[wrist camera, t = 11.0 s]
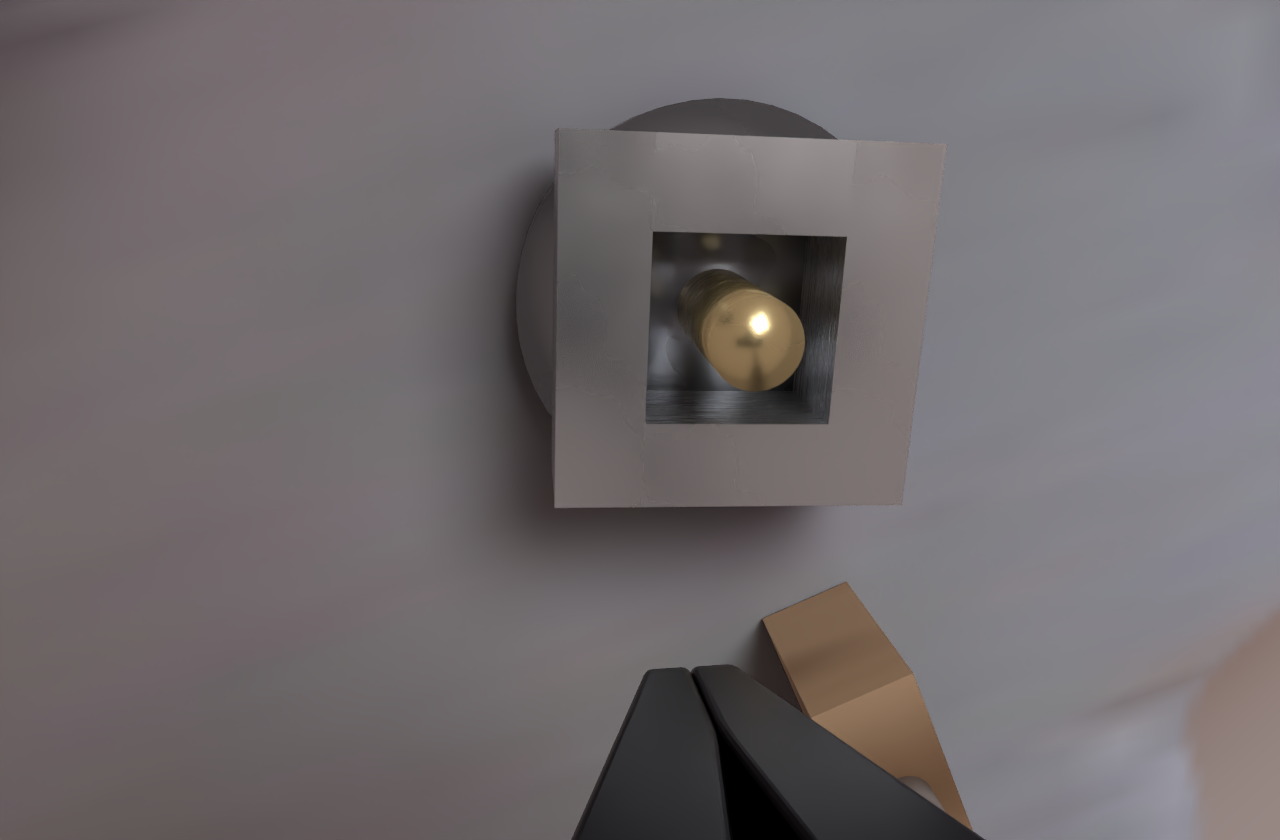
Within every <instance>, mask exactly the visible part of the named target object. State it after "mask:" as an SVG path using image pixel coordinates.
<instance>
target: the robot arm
mask: <svg viewBox="0 0 1280 840" xmlns="http://www.w3.org/2000/svg"><path fill="white" fill-rule="evenodd" d="M571 840H985V839H983V838H982V837H981V836H979V835H978V834H976V833H975V832H973V831H972V830H971V829H969V828H968V827H966V826H965V825H963V824H962V823H960V822H959V821H958V820H956V819H955V818H953V817H952V816H950V815H949V814H947V813H946V812H945V811H943V810H942V809H940V808H939V807H937V806H936V805H935V804H933V803H932V802H930V801H929V800H927V799H926V798H924V797H923V796H922V795H920V794H919V793H917V792H916V791H914V790H913V789H912V788H910V787H909V786H907V785H906V784H904V783H903V782H901V781H900V780H899V779H897V778H896V777H894V776H893V775H891V774H890V773H888V772H887V771H886V770H884V769H883V768H881V767H880V766H878V765H877V764H876V763H874V762H873V761H871V760H870V759H868V758H867V757H865V756H864V755H863V754H861V753H860V752H858V751H857V750H855V749H854V748H852V747H851V746H850V745H848V744H847V743H845V742H844V741H842V740H841V739H840V738H838V737H837V736H835V735H834V734H832V733H831V732H829V731H828V730H827V729H825V728H824V727H822V726H821V725H819V724H818V723H816V722H815V721H814V720H812V719H811V718H809V717H808V716H806V715H805V714H804V713H802V712H801V711H799V710H798V709H796V708H795V707H793V706H792V705H791V704H789V703H788V702H786V701H785V700H783V699H782V698H780V697H779V696H778V695H776V694H775V693H773V692H772V691H770V690H769V689H768V688H766V687H765V686H763V685H762V684H760V683H759V682H757V681H756V680H755V679H753V678H752V677H750V676H749V675H747V674H746V673H744V672H743V671H742V670H740V669H739V668H737V667H735V666H733V665H728V664H727V665H712V666H698V667H695V668H694V669H692V671H691V673H690V672H689V670H688V669H686V668H682V667H681V668H665V669H651V670H648V671H647V672H646V673H645V675H644V676H643V679H642V681H641V683H640V685H639V688H638V690H637V692H636V694H635V697H634V699H633V701H632V703H631V706H630V708H629V710H628V713H627V715H626V717H625V719H624V722H623V724H622V726H621V728H620V731H619V733H618V735H617V737H616V740H615V742H614V744H613V746H612V749H611V751H610V753H609V756H608V758H607V760H606V762H605V765H604V767H603V769H602V771H601V774H600V776H599V778H598V780H597V783H596V785H595V787H594V789H593V792H592V794H591V796H590V798H589V801H588V803H587V805H586V808H585V810H584V812H583V814H582V817H581V819H580V821H579V823H578V826H577V828H576V830H575V832H574V835H573V837H572V839H571Z"/></svg>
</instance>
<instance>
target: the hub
mask: <svg viewBox="0 0 1280 840" xmlns="http://www.w3.org/2000/svg"><path fill="white" fill-rule="evenodd" d="M610 130H617V131H642V132H666V133H690V134H715V135H739V136H763V137H788V138H812V139H836V140H838V139H837V138H835V137H834V136H832V135H831V134H830V133H828V132H827V131H826V130H824V129H823V128H822V127H820V126H818V125H816V124H814V123H812V122H811V121H809V120H807V119H805V118H803V117H801V116H799V115H797V114H795V113H792V112H789V111H786V110H784V109H781V108H778V107H775V106H773V105H768V104H763V103H758V102H754V101H749V100H739V99H724V98H716V99H703V100H691V101H687V102H682V103H677V104H673V105H668V106H664V107H660V108H657V109H654V110H651V111H649V112H646V113H643V114H641V115H638V116H635V117H632V118H630V119H629V120H627V121H625V122H623V123H621V124H619V125H617V126H615V127H614V128H612V129H610ZM805 246H806V236H803V235H767V234H732V233H696V232H660V231H653V239H652V264H651V289H650V314H649V338H648V363H647V388H646V390H683V391H793V384H794V372H795V370H796V368H797V367H798V365H799V363H800V361H801V359H802V356H803V352H804V347H805V335H804V330H803V326H802V323H801V321H800V319H799V315H800V303H801V292H802V280H803V269H804V257H805ZM553 263H554V182H553V183H552V185H551V186H550V188H549V190H548V191H547V193H546V195H545V196H544V198H543V200H542V201H541V203H540V205H539V206H538V209H537V211H536V213H535V215H534V218H533V220H532V222H531V224H530V227H529V229H528V232H527V236H526V239H525V242H524V246H523V249H522V253H521V258H520V264H519V271H518V278H517V288H516V319H517V328H518V336H519V343H520V347H521V350H522V354H523V358H524V362H525V366H526V369H527V371H528V374H529V376H530V378H531V381H532V383H533V386H534V388H535V390H536V392H537V394H538V396H539V398H540V399H541V401H542V403H543V405H544V406H545V408H546V410H547V412H548V413H549V414H550V415H551V417H552V359H553Z"/></svg>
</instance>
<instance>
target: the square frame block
mask: <svg viewBox="0 0 1280 840" xmlns="http://www.w3.org/2000/svg"><path fill="white" fill-rule="evenodd" d="M946 149H947V144H934V143H909V142H885V141H861V140H836V139H812V138H788V137H763V136H739V135H715V134H690V133H666V132H642V131H617V130H593V129H569V128H558V129H556V130H555V168H554V263H553V359H552V454H551V466H552V480H553V494H554V508H610V507H725V506H839V505H902V499H903V491H904V483H905V475H906V467H907V459H908V451H909V443H910V436H911V428H912V420H913V412H914V404H915V396H916V388H917V380H918V372H919V364H920V356H921V348H922V340H923V332H924V324H925V316H926V308H927V300H928V292H929V284H930V277H931V269H932V261H933V253H934V245H935V237H936V229H937V221H938V213H939V205H940V197H941V189H942V181H943V173H944V165H945V157H946ZM653 231H660V232H696V233H732V234H767V235H803V236H806V246H805V257H804V269H803V280H802V292H801V303H800V315H799V319H800V321H801V323H802V326H803V330H804V335H805V347H804V352H803V356H802V359H801V361H800V363H799V365H798V367H797V368H796V370H795V372H794V384H793V391H683V390H646V388H647V363H648V338H649V314H650V289H651V264H652V239H653Z"/></svg>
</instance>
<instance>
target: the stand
mask: <svg viewBox="0 0 1280 840" xmlns="http://www.w3.org/2000/svg"><path fill="white" fill-rule="evenodd" d="M763 622H764V624H765V626H766V629H767V631H768V633H769V636H770V638H771V640H772V643H773V645H774V647H775V649H776V652H777V654H778V656H779V659H780V661H781V663H782V666H783V668H784V670H785V673H786V675H787V677H788V679H789V682H790V684H791V686H792V689H793V691H794V693H795V696H796V698H797V700H798V703H799V705H800V707H801V709H802V712H803V713H804V714H805V715H806V716H808V717H809V718H811V719H812V720H814V721H815V722H816V723H818V724H819V725H821V726H822V727H824V728H825V729H827V730H828V731H829V732H831V733H832V734H834V735H835V736H837V737H838V738H840V739H841V740H842V741H844V742H845V743H847V744H848V745H850V746H851V747H852V748H854V749H855V750H857V751H858V752H860V753H861V754H863V755H864V756H865V757H867V758H868V759H870V760H871V761H873V762H874V763H876V764H877V765H878V766H880V767H881V768H883V769H884V770H886V771H887V772H888V773H890V774H891V775H893V776H894V777H896V778H897V779H899V780H900V781H901V782H903V783H904V784H906V785H907V786H909V787H910V788H912V789H913V790H914V791H916V792H917V793H919V794H920V795H922V796H923V797H924V798H926V799H927V800H929V801H930V802H932V803H933V804H935V805H936V806H937V807H939V808H940V809H942V810H943V811H945V812H946V813H947V814H949V815H950V816H952V817H953V818H955V819H956V820H958V821H959V822H960V823H962V824H963V825H965V826H966V827H968V828H969V829H971V830H972V827H971V825H970V822H969V820H968V817H967V814H966V812H965V809H964V806H963V804H962V801H961V798H960V796H959V793H958V791H957V788H956V785H955V783H954V780H953V777H952V775H951V772H950V769H949V767H948V764H947V761H946V759H945V756H944V754H943V751H942V748H941V746H940V743H939V740H938V738H937V735H936V732H935V730H934V727H933V725H932V722H931V719H930V717H929V714H928V711H927V709H926V706H925V703H924V701H923V698H922V696H921V693H920V690H919V688H918V685H917V682H916V680H915V677H914V674H913V672H912V671H911V670H910V668H909V667H908V666H907V664H906V663H905V661H904V660H903V659H902V657H901V656H900V655H899V653H898V652H897V650H896V649H895V648H894V646H893V645H892V644H891V642H890V641H889V639H888V638H887V637H886V635H885V634H884V633H883V631H882V630H881V628H880V627H879V626H878V624H877V623H876V622H875V620H874V619H873V618H872V616H871V615H870V613H869V612H868V611H867V609H866V608H865V607H864V605H863V604H862V602H861V601H860V600H859V598H858V597H857V596H856V594H855V593H854V591H853V590H852V589H851V587H850V586H849V585H848V583H847V582H845V583H843V584H840V585H838V586H836V587H834V588H831V589H829V590H827V591H824V592H822V593H820V594H818V595H815V596H813V597H811V598H809V599H806V600H804V601H802V602H799V603H797V604H795V605H793V606H790V607H788V608H786V609H784V610H781V611H779V612H777V613H774V614H772V615H770V616H768V617H765V618H763ZM972 831H973V830H972Z"/></svg>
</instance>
